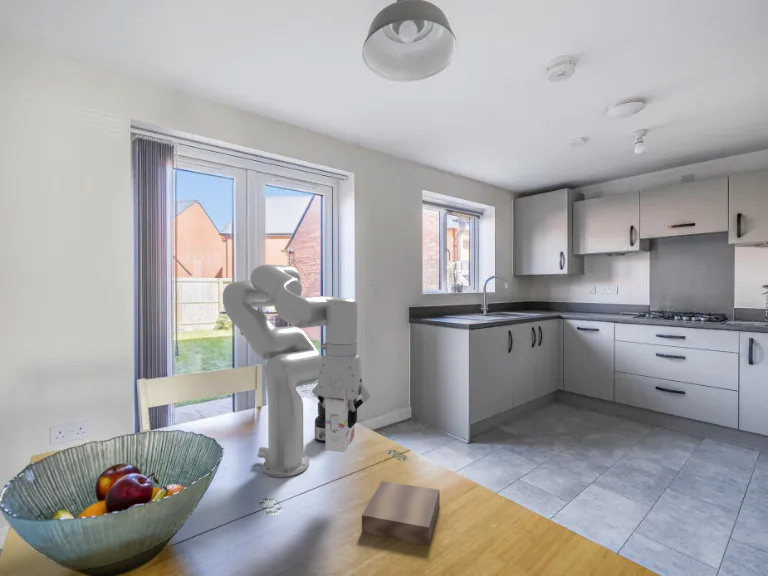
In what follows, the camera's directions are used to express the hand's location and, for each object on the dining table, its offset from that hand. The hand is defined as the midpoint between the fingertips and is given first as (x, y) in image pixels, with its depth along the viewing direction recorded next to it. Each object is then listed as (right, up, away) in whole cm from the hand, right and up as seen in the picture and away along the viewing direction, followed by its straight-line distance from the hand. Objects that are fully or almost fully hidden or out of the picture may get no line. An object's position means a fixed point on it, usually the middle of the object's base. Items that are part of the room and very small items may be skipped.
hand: (340, 423), depth 91 cm
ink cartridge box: (0, -5, 0) cm, 5 cm away
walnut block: (+15, -18, -9) cm, 25 cm away
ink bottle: (-8, -17, +34) cm, 39 cm away
